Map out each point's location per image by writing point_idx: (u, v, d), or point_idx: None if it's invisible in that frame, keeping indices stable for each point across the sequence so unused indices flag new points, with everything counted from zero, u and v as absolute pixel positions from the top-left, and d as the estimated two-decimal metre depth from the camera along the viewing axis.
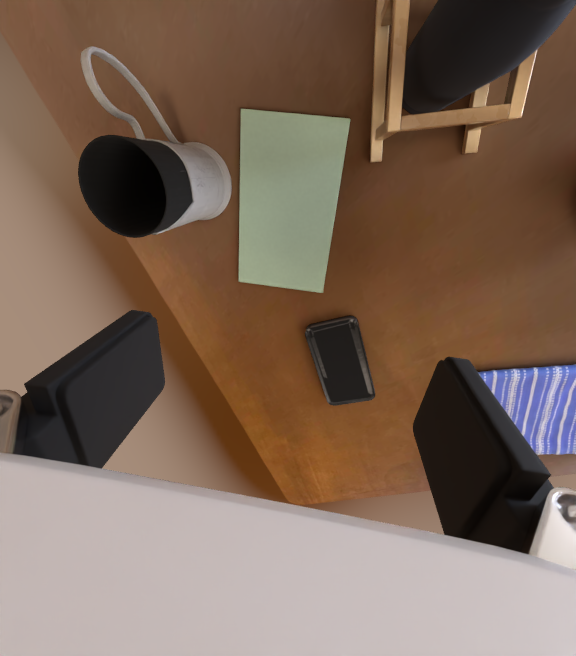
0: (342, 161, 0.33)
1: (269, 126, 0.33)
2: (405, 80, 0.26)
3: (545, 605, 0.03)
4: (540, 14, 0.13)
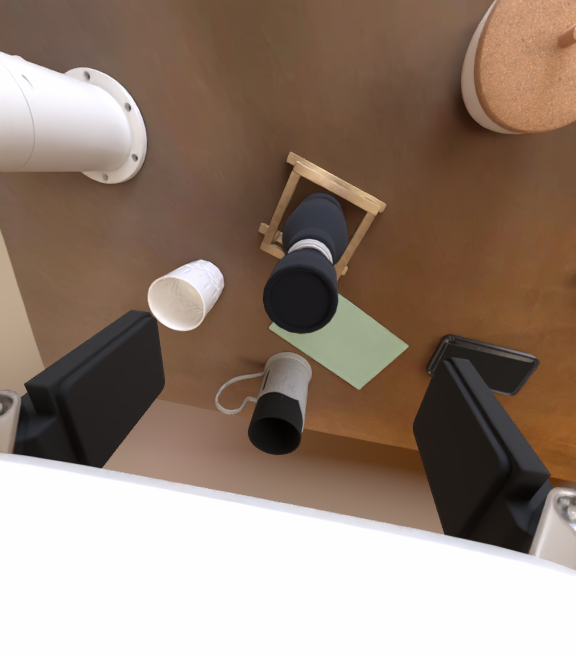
0: None
1: None
2: None
3: (545, 605, 0.03)
4: None
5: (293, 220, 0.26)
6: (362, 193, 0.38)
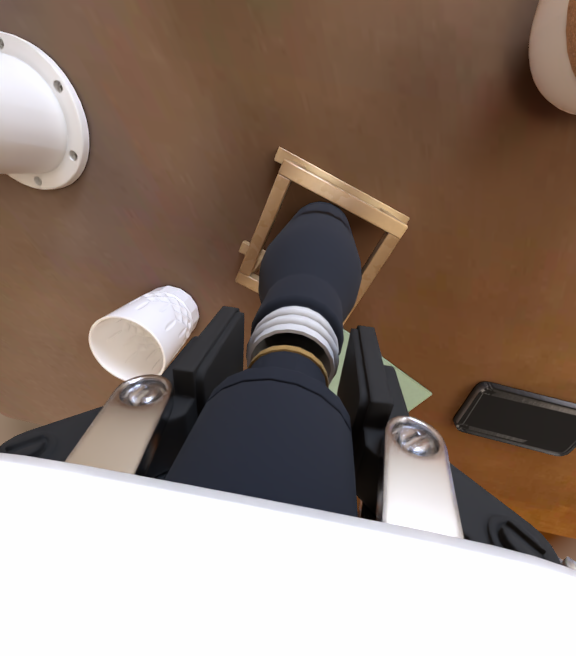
0: None
1: None
2: None
3: (545, 605, 0.03)
4: None
5: (273, 255, 0.16)
6: (377, 203, 0.28)
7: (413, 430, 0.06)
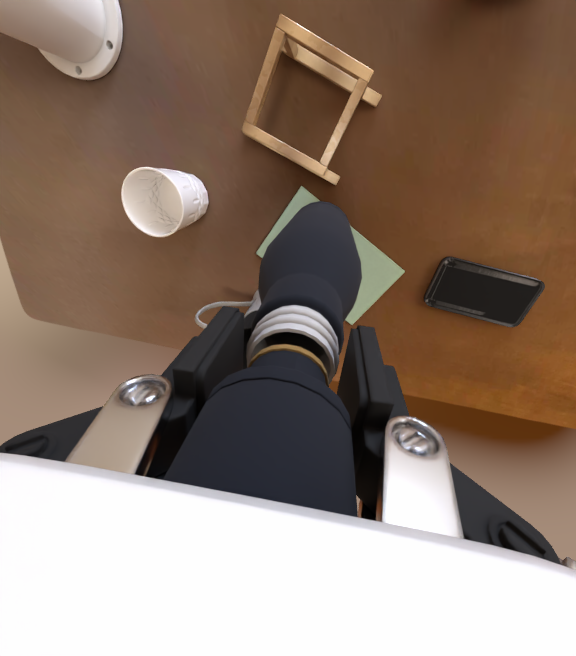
0: None
1: None
2: None
3: (545, 605, 0.03)
4: None
5: (273, 254, 0.16)
6: (355, 82, 0.35)
7: (413, 431, 0.06)
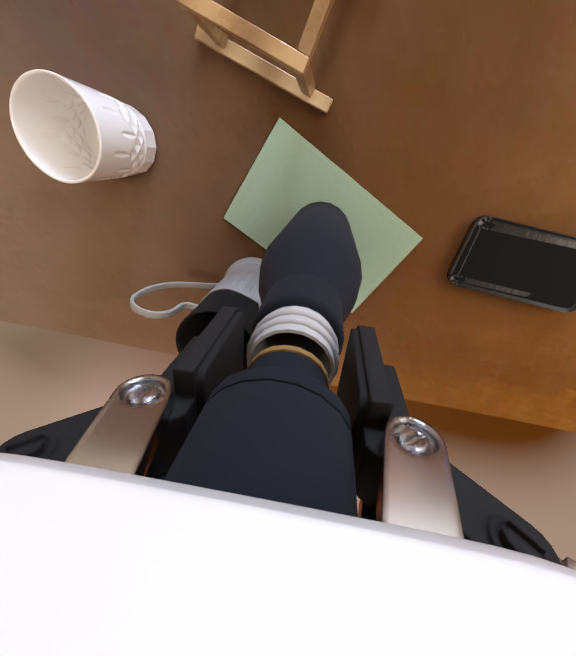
0: (310, 144, 0.31)
1: (246, 201, 0.34)
2: None
3: (545, 605, 0.03)
4: None
5: (274, 255, 0.16)
6: None
7: (413, 431, 0.06)
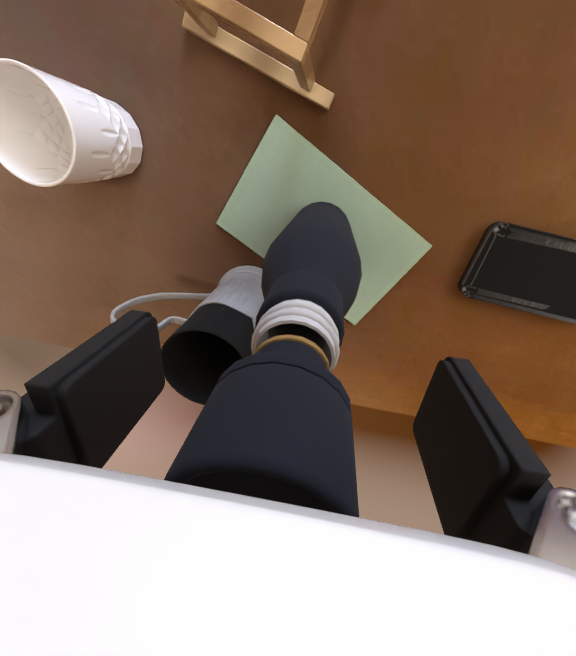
0: (310, 144, 0.28)
1: (240, 205, 0.32)
2: None
3: (545, 605, 0.03)
4: None
5: (276, 252, 0.16)
6: None
7: None
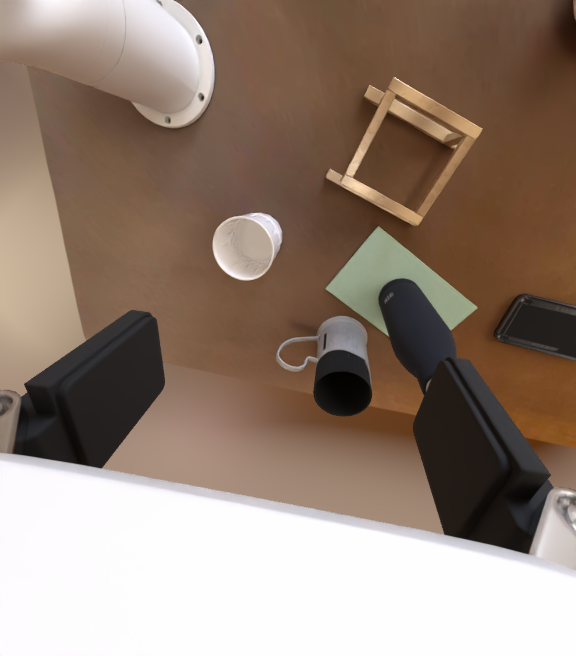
0: (399, 244, 0.43)
1: (345, 278, 0.46)
2: None
3: (545, 605, 0.03)
4: None
5: (414, 338, 0.31)
6: (444, 131, 0.36)
7: None
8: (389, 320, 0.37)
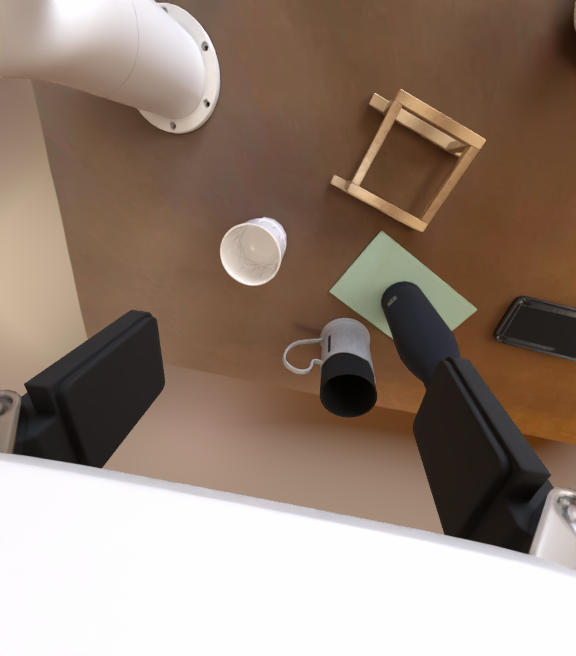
0: (401, 248, 0.44)
1: (348, 281, 0.47)
2: None
3: (545, 605, 0.03)
4: None
5: (420, 342, 0.32)
6: (447, 138, 0.36)
7: None
8: (394, 324, 0.38)
